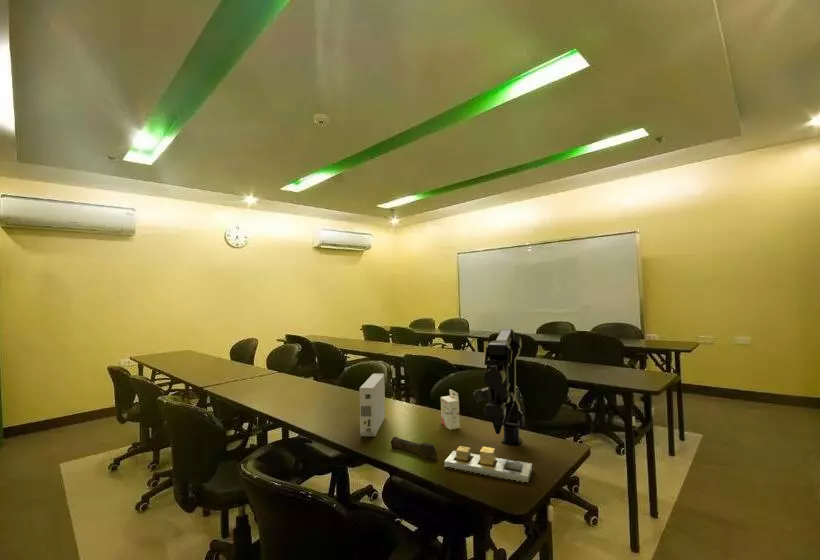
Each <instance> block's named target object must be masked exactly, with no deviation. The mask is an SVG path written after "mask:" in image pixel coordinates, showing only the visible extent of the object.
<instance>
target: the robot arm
mask: <svg viewBox="0 0 820 560" xmlns="http://www.w3.org/2000/svg"><path fill="white" fill-rule="evenodd" d="M522 343H523V342H522V338H521V336H520V335H519V334H518V333H517V332H515V330H514V329H513V328H501V329H499V333H498V336H497V337H496V338H495V340H491V341H489V343H488V344H487V345H486V347H485V356H484V365H483V366H488V370H487V371H486V372H485V374H484V376H483V382H484V384H485V385H486V386H487V387H483V388H479V389H475V390H474V392H473V394H472V395H473V397H472V398H473V399H474V400H475V401H476V403H481V402H482V401H486V400H487V401H488V403H487V404H485V405H484V407H483V414H485V416H487V417H489V418H490V419H491V422H492V425H493V429H494V431H495V434H496V435H500V433H501V430H502V428H503V438H502V440H501V443H502V444H508V445H515V446H520V444H521V442H522V441H523V440H522V437H520V429H522V428H523V427H525V416H524V414H523V412H522V410H521V405H520V403H519V402H518V400H517V392H516V391H517V369H516V368H517V362H516V361H517V358H518V357H519V356H520V354H521V349H522V346H523V345H522Z"/></svg>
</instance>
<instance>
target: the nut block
mask: <svg viewBox="0 0 820 560" xmlns="http://www.w3.org/2000/svg"><path fill="white" fill-rule="evenodd" d="M479 455H480V465H483V466H489V467H495V465H496V459H495V458H496V448H494V447H490V446H488V447H487V446H482V447H481V449H480V450H479Z"/></svg>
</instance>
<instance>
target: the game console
mask: <svg viewBox="0 0 820 560" xmlns="http://www.w3.org/2000/svg"><path fill="white" fill-rule="evenodd" d="M385 379H386V378H385V374H384V373H372V374H371V375H370V376H369V377H368V378H367V379H366V381H365V382H364V383H363V384H362V385H361V386H360V387H359V433H360V434H359V435H360V436H361V437H376V436H377V433H378V432H379V429H380V428H381V426H382V424H383V422H384V420H385V418H386V403H385V402H386V399H385V398H386V397H385V393H386V392H385V382H386V381H385Z"/></svg>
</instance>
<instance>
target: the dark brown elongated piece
mask: <svg viewBox="0 0 820 560" xmlns="http://www.w3.org/2000/svg"><path fill="white" fill-rule="evenodd" d="M390 447H391V448H392V449H395V450H396V449H399V450H403V451H406V452H409V453H412V454H417V455H419V456H422V457H421V458H424V457H428V458H427V459H430V458H434V460H437V458H438V454H437V450H436V447H435V445H434V444H432V443H431V444H430V443H428V442H422V443H419V442H415V441H410V440H407V439H403V438H399V437H398V436H394V437H392V438H391V440H390Z"/></svg>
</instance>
